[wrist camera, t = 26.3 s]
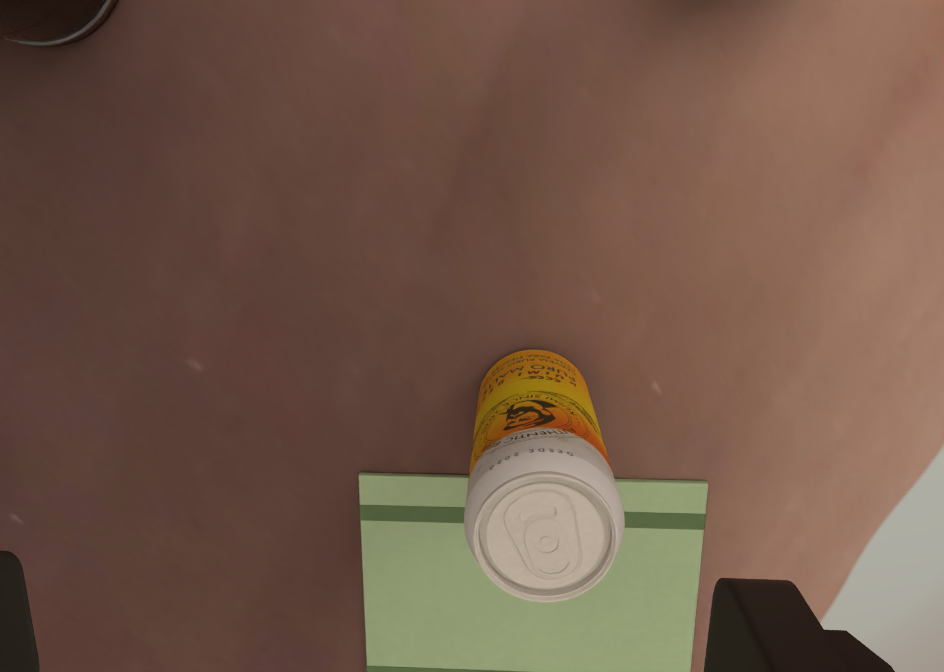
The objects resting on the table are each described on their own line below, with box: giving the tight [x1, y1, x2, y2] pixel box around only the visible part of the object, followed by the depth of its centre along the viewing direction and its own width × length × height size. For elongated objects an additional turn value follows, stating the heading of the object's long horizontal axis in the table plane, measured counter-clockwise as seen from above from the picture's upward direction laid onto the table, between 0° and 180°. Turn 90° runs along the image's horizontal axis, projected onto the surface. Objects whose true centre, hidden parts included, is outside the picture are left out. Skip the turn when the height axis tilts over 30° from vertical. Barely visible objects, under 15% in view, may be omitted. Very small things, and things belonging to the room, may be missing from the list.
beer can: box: [464, 350, 625, 602], centre depth 34 cm, size 6×6×15 cm
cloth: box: [359, 472, 708, 672], centre depth 45 cm, size 20×16×1 cm
